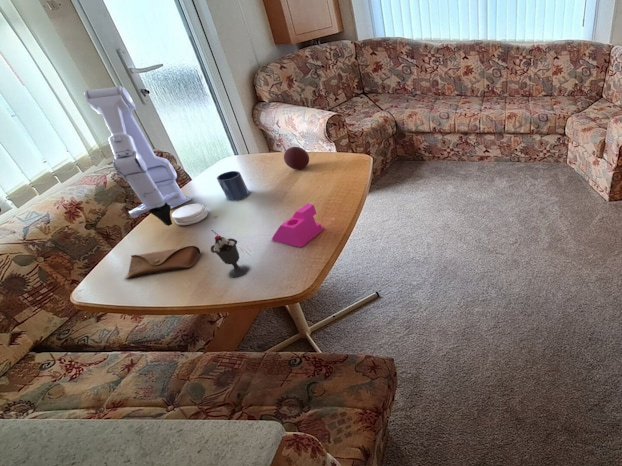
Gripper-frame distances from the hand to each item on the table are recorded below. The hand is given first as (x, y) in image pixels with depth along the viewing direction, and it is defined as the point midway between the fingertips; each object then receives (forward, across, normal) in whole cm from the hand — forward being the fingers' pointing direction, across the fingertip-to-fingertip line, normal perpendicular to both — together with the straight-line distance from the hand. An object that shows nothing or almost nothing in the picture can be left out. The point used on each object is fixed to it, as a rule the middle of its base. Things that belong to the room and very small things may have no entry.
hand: (168, 224), depth 133 cm
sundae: (+2, -5, -44) cm, 44 cm away
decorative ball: (+2, +53, -3) cm, 53 cm away
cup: (+2, +25, 0) cm, 25 cm away
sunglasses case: (+2, -13, -20) cm, 24 cm away
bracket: (+2, +16, -45) cm, 48 cm away
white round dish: (+2, +7, 0) cm, 8 cm away
